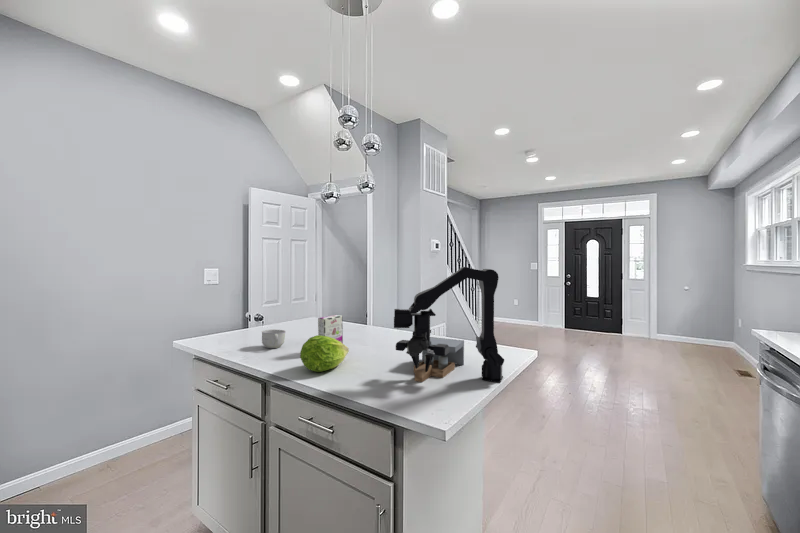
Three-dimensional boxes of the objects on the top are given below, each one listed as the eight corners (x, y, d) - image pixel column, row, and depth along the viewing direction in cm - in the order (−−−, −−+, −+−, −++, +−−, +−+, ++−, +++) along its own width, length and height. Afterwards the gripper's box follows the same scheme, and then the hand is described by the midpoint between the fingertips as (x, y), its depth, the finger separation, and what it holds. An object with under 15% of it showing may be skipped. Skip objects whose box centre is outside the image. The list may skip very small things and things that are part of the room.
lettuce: (362, 365, 150) (359, 331, 153) (323, 373, 129) (320, 334, 132) (334, 367, 157) (332, 335, 160) (292, 375, 136) (291, 338, 139)
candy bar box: (335, 348, 173) (335, 314, 173) (343, 350, 170) (343, 315, 170) (317, 353, 164) (317, 317, 164) (324, 355, 161) (324, 318, 161)
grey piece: (463, 364, 148) (464, 340, 148) (455, 373, 137) (455, 347, 136) (423, 359, 156) (423, 336, 155) (411, 367, 144) (411, 342, 144)
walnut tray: (454, 369, 142) (454, 355, 142) (434, 384, 125) (434, 368, 124) (426, 364, 148) (426, 351, 148) (403, 378, 130) (403, 363, 130)
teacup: (262, 345, 179) (262, 329, 179) (285, 343, 182) (285, 328, 182) (260, 352, 166) (260, 334, 166) (285, 350, 169) (285, 333, 169)
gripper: (388, 329, 126) (388, 374, 126) (439, 334, 118) (439, 381, 119) (402, 324, 136) (401, 365, 137) (449, 328, 128) (449, 372, 129)
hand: (422, 371), depth 130 cm, fingers closed on walnut tray, 3 cm apart
